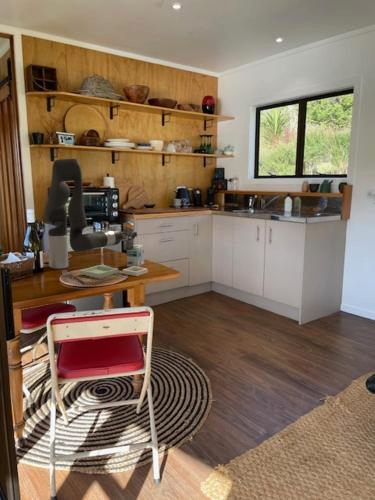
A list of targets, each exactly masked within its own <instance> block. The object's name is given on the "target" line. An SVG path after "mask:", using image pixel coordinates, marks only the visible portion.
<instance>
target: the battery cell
mask: <svg viewBox="0 0 375 500" xmlns="http://www.w3.org/2000/svg"><path fill="white" fill-rule="evenodd" d="M134 226H135V225H134V223H133V222H131V221H127V222H123V232H128V233H133V232H135V231H134V229H135V227H134ZM134 239H135V238H134ZM134 239H132V240H128V239H127V240H123V250H124V251H127V250H133V249H134V244H135V243H134Z"/></svg>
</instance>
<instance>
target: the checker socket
mask: <svg viewBox="0 0 375 500" xmlns="http://www.w3.org/2000/svg"><path fill="white" fill-rule="evenodd" d="M148 270H149V269H148V268H145V267H141V266H139V267H135V266H133V267H127V268H124V269H122V274H123V273H124V274H123V275H128V276H133V277H138V276H141V275H145V274H147V273H149V272H148Z"/></svg>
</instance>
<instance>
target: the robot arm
mask: <svg viewBox="0 0 375 500" xmlns="http://www.w3.org/2000/svg"><path fill="white" fill-rule="evenodd" d="M66 182H73V183H74V184H73V185H74V189H73V192H72V196H71V197H70V195H71V190H70V187H69V185H68V184H67V183H66ZM83 189H84V188H83V175H82V169H81V164H80V161H79V160H78V158H58V159H56V160H54V161H53V164H52V168H51V182H50V186H49V190H48V196H47V201H46V203H45V207H44V211H43V212H44V213H43V216H44V219H45V221H46V222H47V223H59V224H58V225H57V226H54V227H53V228H50V229H48V249H47V251H48V252H47V253H48V267H49V268H50V269H56V270H57V269H65V268H68V267H69V250H68V249H69V248H68V245H70V248H71V249H72V250H73V252H75V253H81V252H86V251H90V250H93V249H101V248H105V247H106V248H107V247H111V246H115V245H116V246H117V245H119V244H120V243H121V241H123V242H124V240H127V239H128V240H132V239H135V238H136V237H137V236H138V232H136V231H134V232H133V233H128V232H124V231H119V230H118V229H115V228H111V229H106V230H102V231H97V232H90V233H84V234H83V231H84V229H86V228H87V227H88V221H87V216H86V210H85V205H84V204H85V203H84V190H83ZM69 198H70V201H69ZM67 203H68V206H66V204H67ZM68 221H69V225H70V227H69V244H68V227H67V226H68V225H67V223H68Z"/></svg>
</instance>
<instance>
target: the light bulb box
mask: <svg viewBox="0 0 375 500" xmlns="http://www.w3.org/2000/svg"><path fill="white" fill-rule="evenodd" d="M144 264H145V244H135V243H134V249H133V250H126V267H127V268H130V267H133V266H135V267H141V266H143V265H144Z"/></svg>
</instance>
